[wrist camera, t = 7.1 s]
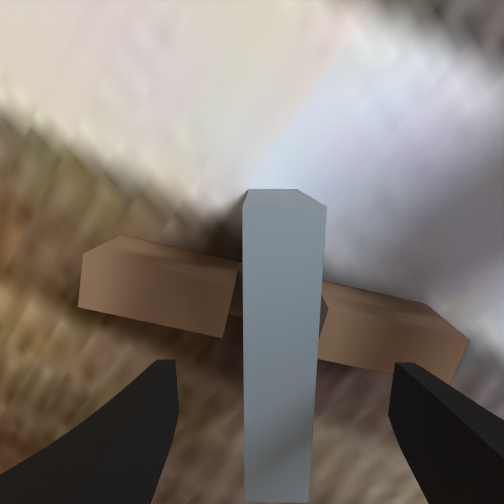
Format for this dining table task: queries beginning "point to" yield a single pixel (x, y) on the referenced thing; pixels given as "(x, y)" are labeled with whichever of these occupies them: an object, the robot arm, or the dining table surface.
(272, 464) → the crosspiece
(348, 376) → the dining table surface
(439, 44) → the dining table surface
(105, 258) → the base rail
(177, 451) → the dining table surface
